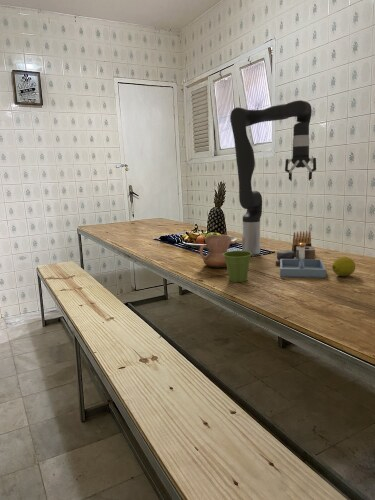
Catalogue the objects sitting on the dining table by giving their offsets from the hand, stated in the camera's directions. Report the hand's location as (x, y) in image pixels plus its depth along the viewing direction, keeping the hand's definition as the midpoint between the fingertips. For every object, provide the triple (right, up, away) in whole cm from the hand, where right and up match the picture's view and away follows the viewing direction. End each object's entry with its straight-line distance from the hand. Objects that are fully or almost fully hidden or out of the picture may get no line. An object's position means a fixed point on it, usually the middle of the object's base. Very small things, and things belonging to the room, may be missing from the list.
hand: (300, 180), depth 183 cm
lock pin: (-5, -42, -17) cm, 46 cm away
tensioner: (-3, -39, -1) cm, 39 cm away
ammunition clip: (+6, -35, +17) cm, 40 cm away
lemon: (+10, -44, -26) cm, 52 cm away
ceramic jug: (-40, -41, -1) cm, 57 cm away
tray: (-5, -43, -17) cm, 46 cm away
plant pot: (-33, -46, -26) cm, 63 cm away
